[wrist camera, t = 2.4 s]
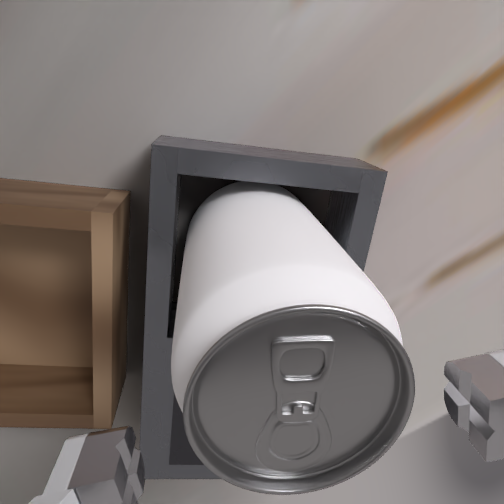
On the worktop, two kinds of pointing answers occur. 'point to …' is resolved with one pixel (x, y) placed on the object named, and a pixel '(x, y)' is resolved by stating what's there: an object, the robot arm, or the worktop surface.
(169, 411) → the tray
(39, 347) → the box
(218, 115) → the worktop surface
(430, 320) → the worktop surface
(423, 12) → the worktop surface
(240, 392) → the can
